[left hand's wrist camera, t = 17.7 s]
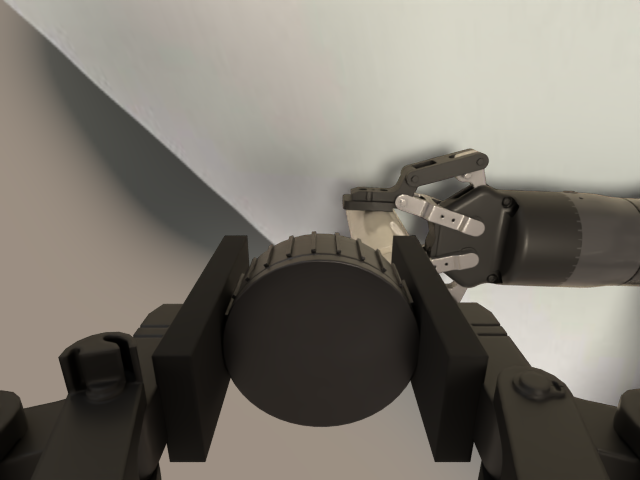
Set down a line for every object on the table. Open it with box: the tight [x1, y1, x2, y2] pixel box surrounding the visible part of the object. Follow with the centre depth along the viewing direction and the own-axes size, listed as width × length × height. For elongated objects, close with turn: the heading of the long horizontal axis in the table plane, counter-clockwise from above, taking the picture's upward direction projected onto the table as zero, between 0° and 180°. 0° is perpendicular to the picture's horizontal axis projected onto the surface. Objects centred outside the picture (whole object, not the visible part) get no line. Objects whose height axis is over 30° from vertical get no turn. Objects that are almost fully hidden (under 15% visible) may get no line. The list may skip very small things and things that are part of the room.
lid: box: [222, 232, 420, 427], centre depth 11 cm, size 5×5×2 cm
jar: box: [346, 209, 409, 264], centre depth 31 cm, size 4×4×16 cm
